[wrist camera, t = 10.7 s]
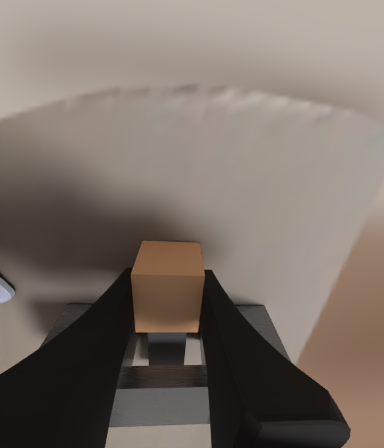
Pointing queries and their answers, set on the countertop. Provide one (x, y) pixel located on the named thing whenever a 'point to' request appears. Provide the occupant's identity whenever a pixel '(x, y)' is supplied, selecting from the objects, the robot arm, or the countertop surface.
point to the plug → (167, 297)
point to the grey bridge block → (165, 378)
